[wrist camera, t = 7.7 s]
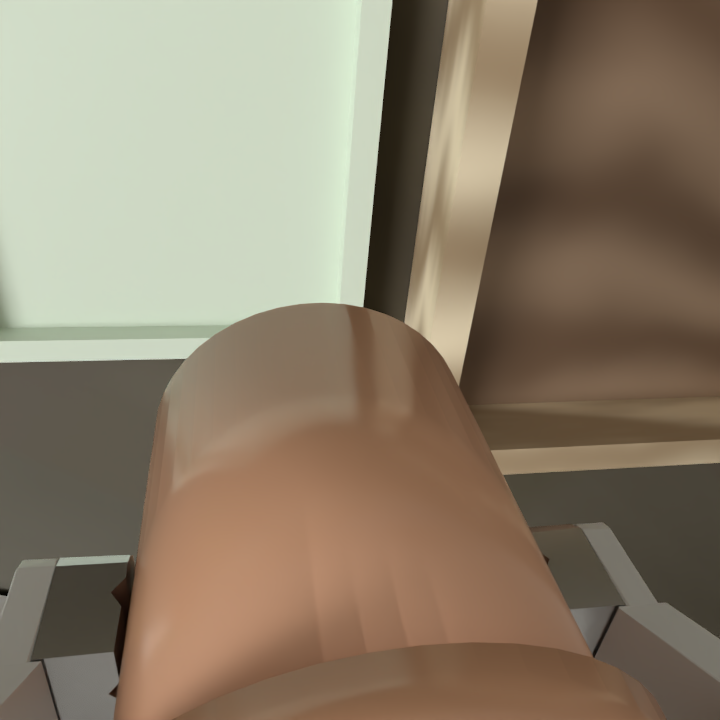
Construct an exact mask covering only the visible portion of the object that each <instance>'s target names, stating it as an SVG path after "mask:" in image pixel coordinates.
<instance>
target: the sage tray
mask: <svg viewBox="0 0 720 720" xmlns="http://www.w3.org/2000/svg"><path fill="white" fill-rule="evenodd" d="M391 11H392V0H0V362H47V361H95V360H144V359H187V358H188V357H189V356H190V355H191V354H192V353H193V352H194V351H195V350H196V349H197V348H198V347H199V346H200V345H202V344H203V343H204V342H206V341H207V340H208V339H210V338H211V337H212V336H214V335H215V334H216V333H218V332H220V331H222V330H223V329H225V328H227V327H229V326H230V325H232V324H234V323H236V322H238V321H241V320H243V319H245V318H248V317H250V316H252V315H255V314H258V313H261V312H265V311H268V310H272V309H275V308H279V307H285V306H291V305H297V304H307V303H336V304H347V305H353V306H358V307H363V303H364V293H365V283H366V272H367V262H368V251H369V241H370V230H371V220H372V209H373V199H374V188H375V178H376V167H377V157H378V147H379V136H380V126H381V115H382V105H383V94H384V84H385V73H386V63H387V52H388V42H389V31H390V21H391Z"/></svg>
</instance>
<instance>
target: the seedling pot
mask: <svg viewBox="0 0 720 720" xmlns="http://www.w3.org/2000/svg"><path fill="white" fill-rule="evenodd" d="M113 720H667V719H666V717H665V715H664V713H663V711H662V710H661V708H660V706H659V704H658V702H657V701H656V699H655V697H654V696H653V695H652V694H651V693H650V692H649V691H648V690H647V689H646V688H645V687H644V686H643V685H642V684H641V683H640V682H639V681H638V680H636V679H635V678H633V677H631V676H630V675H628V674H627V673H625V672H624V671H622V670H620V669H619V668H617V667H614V666H612V665H609V664H607V663H604V662H602V661H599V660H597V659H595V658H594V657H593V655H592V653H591V651H590V649H589V647H588V645H587V643H586V641H585V639H584V637H583V635H582V633H581V631H580V629H579V627H578V625H577V623H576V621H575V619H574V617H573V615H572V613H571V611H570V609H569V607H568V605H567V603H566V601H565V599H564V597H563V595H562V593H561V591H560V589H559V587H558V585H557V583H556V581H555V579H554V577H553V575H552V573H551V571H550V569H549V567H548V565H547V563H546V561H545V559H544V557H543V555H542V553H541V551H540V549H539V547H538V545H537V543H536V541H535V539H534V537H533V535H532V533H531V531H530V529H529V527H528V525H527V523H526V521H525V519H524V517H523V515H522V513H521V511H520V509H519V507H518V505H517V503H516V501H515V499H514V497H513V495H512V493H511V491H510V489H509V487H508V485H507V483H506V481H505V479H504V476H503V474H502V472H501V470H500V468H499V466H498V464H497V462H496V460H495V458H494V456H493V454H492V452H491V450H490V448H489V446H488V444H487V442H486V440H485V438H484V436H483V434H482V432H481V430H480V428H479V426H478V424H477V422H476V420H475V418H474V416H473V414H472V412H471V410H470V408H469V406H468V404H467V402H466V400H465V398H464V396H463V394H462V392H461V390H460V388H459V386H458V384H457V382H456V380H455V378H454V376H453V374H452V372H451V370H450V369H449V367H448V365H447V363H446V362H445V360H444V358H443V357H442V356H441V354H440V353H439V352H438V351H437V349H436V348H435V347H434V346H433V345H432V344H431V343H430V342H429V341H428V340H427V339H426V338H425V337H423V336H422V335H421V334H420V333H419V332H417V331H416V330H414V329H413V328H411V327H410V326H408V325H407V324H405V323H403V322H401V321H399V320H397V319H395V318H393V317H391V316H389V315H386V314H384V313H380V312H377V311H374V310H371V309H368V308H364V307H358V306H353V305H347V304H336V303H307V304H297V305H291V306H285V307H279V308H275V309H272V310H268V311H265V312H261V313H258V314H255V315H252V316H250V317H248V318H245V319H243V320H241V321H238V322H236V323H234V324H232V325H230V326H229V327H227V328H225V329H223V330H222V331H220V332H218V333H216V334H215V335H214V336H212V337H211V338H210V339H208V340H207V341H206V342H204V343H203V344H202V345H200V346H199V347H198V348H197V349H196V350H195V351H194V352H193V353H192V354H191V355H190V356H189V357H188V358H187V359H186V360H185V361H184V362H183V363H182V365H181V366H180V367H179V369H178V370H177V371H176V373H175V374H174V375H173V377H172V379H171V380H170V382H169V384H168V386H167V388H166V390H165V392H164V394H163V397H162V400H161V402H160V405H159V408H158V413H157V419H156V425H155V432H154V439H153V446H152V453H151V460H150V467H149V474H148V481H147V488H146V495H145V502H144V509H143V516H142V522H141V529H140V536H139V543H138V550H137V557H136V564H135V571H134V578H133V585H132V592H131V599H130V606H129V613H128V620H127V627H126V634H125V641H124V648H123V655H122V662H121V669H120V676H119V683H118V690H117V697H116V704H115V711H114V718H113Z"/></svg>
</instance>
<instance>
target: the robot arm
mask: <svg viewBox="0 0 720 720" xmlns="http://www.w3.org/2000/svg"><path fill="white" fill-rule="evenodd" d="M529 529H530V531H531V533H532V535H533V537H534V539H535V541H536V543H537V545H538V547H539V549H540V551H541V553H542V555H543V557H544V559H545V561H546V563H547V565H548V567H549V569H550V571H551V573H552V575H553V577H554V579H555V581H556V583H557V585H558V587H559V589H560V591H561V593H562V595H563V597H564V599H565V601H566V603H567V605H568V607H569V609H570V611H571V613H572V615H573V617H574V619H575V621H576V623H577V625H578V627H579V629H580V631H581V633H582V635H583V637H584V639H585V641H586V643H587V645H588V647H589V649H590V651H591V653H592V655H593V657H594V658H595V659H597V660H599V661H602V662H604V663H607V664H609V665H612V666H614V667H617V668H619V669H620V670H622V671H624V672H625V673H627V674H628V675H630V676H631V677H633V678H635V679H636V680H638V681H639V682H640V683H641V684H642V685H643V686H644V687H645V688H646V689H647V690H648V691H649V692H650V693H651V694H652V695H653V696H654V697H655V699H656V701H657V702H658V704H659V706H660V708H661V710H662V711H663V713H664V715H665V717H666V719H667V720H720V639H719V638H717V637H716V636H714V635H713V634H711V633H710V632H709V631H707V630H706V629H704V628H703V627H701V626H700V625H698V624H697V623H695V622H694V621H692V620H691V619H690V618H688V617H687V616H685V615H684V614H682V613H681V612H679V611H678V610H676V609H675V608H673V607H672V606H671V605H669V604H668V603H658V602H657V601H656V599H655V598H654V596H653V595H652V593H651V591H650V590H649V588H648V587H647V585H646V584H645V582H644V581H643V579H642V577H641V576H640V574H639V573H638V571H637V570H636V568H635V567H634V565H633V563H632V562H631V560H630V559H629V557H628V556H627V554H626V553H625V551H624V549H623V548H622V546H621V545H620V543H619V542H618V540H617V539H616V537H615V535H614V534H613V532H612V531H611V529H610V528H609V527H608V526H607V525H605V524H604V523H603V522H602V523H587V524H574V525H571V524H566V525H553V526H541V527H529ZM134 571H135V564H134V559H133V556H132V555H119V556H95V557H71V558H55V559H35V560H23V561H22V562H21V563H20V565H19V566H18V568H17V569H16V571H15V574H14V577H13V580H12V583H11V586H10V589H9V592H8V595H7V596H3V595H0V720H113V718H114V711H115V704H116V697H117V690H118V683H119V676H120V669H121V662H122V655H123V648H124V641H125V634H126V627H127V620H128V613H129V606H130V599H131V592H132V585H133V578H134Z"/></svg>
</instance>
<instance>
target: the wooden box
mask: <svg viewBox="0 0 720 720" xmlns="http://www.w3.org/2000/svg"><path fill="white" fill-rule="evenodd" d="M404 323H405V324H407V325H408V326H410V327H411V328H413V329H414V330H416V331H417V332H419V333H420V334H421V335H422V336H423V337H425V338H426V339H427V340H428V341H429V342H430V343H431V344H432V345H433V346H434V347H435V348H436V349H437V351H438V352H439V353H440V354H441V356H442V357H443V358H444V360H445V362H446V363H447V365H448V367H449V369H450V370H451V372H452V374H453V376H454V378H455V380H456V382H457V384H458V386H459V388H460V390H461V392H462V394H463V396H464V398H465V400H466V402H467V404H468V406H469V408H470V410H471V412H472V414H473V416H474V418H475V420H476V422H477V424H478V426H479V428H480V430H481V432H482V434H483V436H484V438H485V440H486V442H487V444H488V446H489V448H490V450H491V452H492V454H493V456H494V458H495V460H496V462H497V464H498V466H499V468H500V470H501V472H502V474H503V475H506V474H524V473H542V472H560V471H578V470H596V469H614V468H632V467H650V466H668V465H686V464H704V463H720V0H449V2H448V10H447V17H446V24H445V31H444V39H443V46H442V53H441V60H440V68H439V75H438V82H437V89H436V97H435V104H434V111H433V118H432V126H431V133H430V140H429V147H428V155H427V162H426V169H425V177H424V184H423V191H422V198H421V206H420V213H419V220H418V227H417V235H416V242H415V249H414V256H413V264H412V271H411V278H410V285H409V293H408V300H407V307H406V314H405V322H404Z"/></svg>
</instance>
